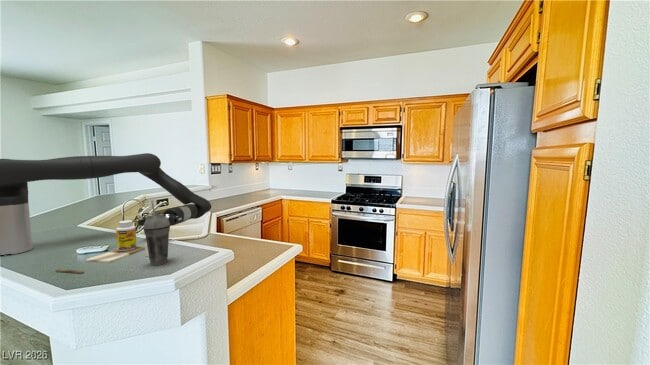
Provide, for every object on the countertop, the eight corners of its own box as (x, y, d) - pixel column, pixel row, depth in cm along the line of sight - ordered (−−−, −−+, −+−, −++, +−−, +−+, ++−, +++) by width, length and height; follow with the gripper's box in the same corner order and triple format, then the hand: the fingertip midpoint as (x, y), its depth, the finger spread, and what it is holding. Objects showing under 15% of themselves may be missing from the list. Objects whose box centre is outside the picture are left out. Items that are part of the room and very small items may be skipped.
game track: (55, 271, 77) (55, 269, 77) (125, 247, 100) (125, 245, 100) (81, 273, 76) (81, 271, 76) (146, 248, 98) (146, 247, 98)
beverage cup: (177, 260, 86) (174, 199, 85) (156, 268, 80) (153, 202, 78) (160, 257, 89) (157, 198, 87) (139, 265, 82) (135, 201, 80)
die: (145, 256, 90) (144, 243, 90) (150, 252, 94) (150, 240, 94) (158, 255, 91) (157, 243, 90) (163, 251, 95) (162, 239, 94)
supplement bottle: (116, 253, 92) (114, 223, 91) (118, 248, 96) (116, 220, 95) (136, 250, 95) (134, 221, 94) (137, 246, 99) (135, 219, 99)
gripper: (163, 206, 121) (131, 213, 105) (191, 207, 118) (163, 214, 102) (164, 222, 121) (133, 232, 105) (192, 223, 119) (164, 233, 103)
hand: (148, 223), depth 104 cm, fingers open, 8 cm apart
